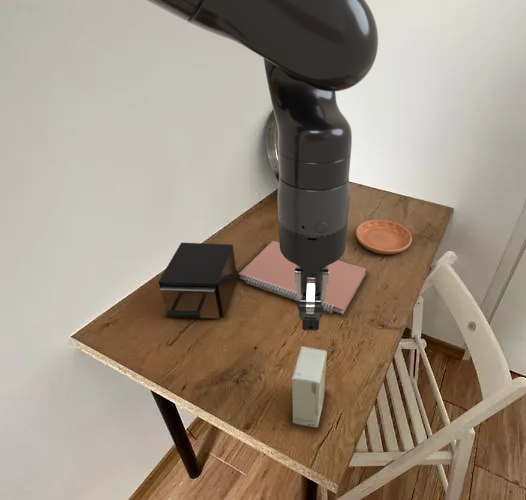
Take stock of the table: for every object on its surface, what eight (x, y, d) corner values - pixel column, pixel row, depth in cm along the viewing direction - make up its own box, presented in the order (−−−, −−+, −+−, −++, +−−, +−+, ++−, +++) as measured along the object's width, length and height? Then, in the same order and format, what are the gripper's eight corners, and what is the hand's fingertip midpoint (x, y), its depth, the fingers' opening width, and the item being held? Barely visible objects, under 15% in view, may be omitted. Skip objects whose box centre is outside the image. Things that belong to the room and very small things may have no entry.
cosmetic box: (317, 428, 58) (320, 385, 51) (292, 423, 58) (290, 380, 51) (325, 393, 63) (328, 349, 56) (301, 389, 64) (301, 345, 56)
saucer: (415, 235, 107) (416, 227, 105) (403, 265, 95) (405, 256, 93) (364, 222, 111) (365, 214, 109) (347, 249, 99) (348, 240, 97)
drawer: (213, 334, 71) (207, 306, 66) (160, 333, 70) (150, 305, 66) (232, 279, 85) (228, 253, 80) (187, 278, 84) (181, 251, 79)
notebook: (236, 281, 85) (236, 275, 84) (273, 245, 98) (272, 239, 97) (341, 318, 78) (341, 312, 77) (365, 274, 91) (366, 268, 89)
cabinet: (223, 317, 76) (217, 283, 70) (168, 315, 75) (158, 281, 70) (237, 276, 87) (232, 244, 81) (189, 274, 86) (181, 242, 81)
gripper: (284, 184, 43) (287, 288, 54) (270, 249, 33) (277, 365, 43) (345, 187, 44) (337, 290, 54) (351, 252, 33) (339, 366, 43)
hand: (310, 323), depth 48 cm, fingers closed
